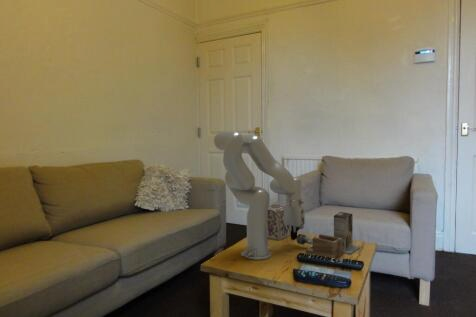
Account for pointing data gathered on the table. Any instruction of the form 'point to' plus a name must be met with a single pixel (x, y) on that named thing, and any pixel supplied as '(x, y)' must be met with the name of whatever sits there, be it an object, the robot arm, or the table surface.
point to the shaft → (304, 239)
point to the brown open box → (326, 246)
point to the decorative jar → (276, 222)
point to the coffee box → (343, 228)
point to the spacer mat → (351, 249)
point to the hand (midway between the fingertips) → (293, 239)
